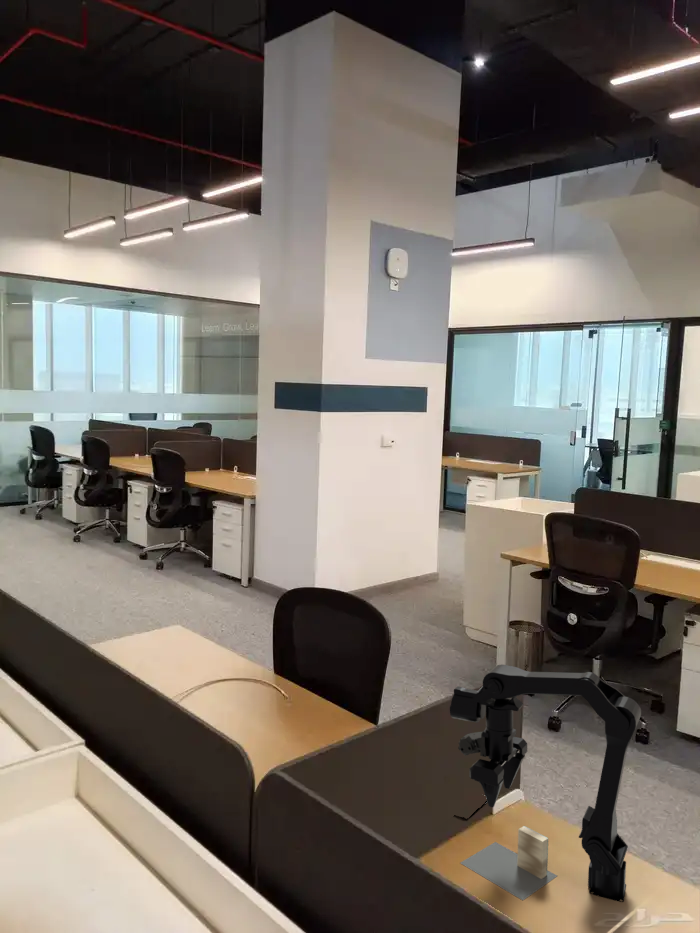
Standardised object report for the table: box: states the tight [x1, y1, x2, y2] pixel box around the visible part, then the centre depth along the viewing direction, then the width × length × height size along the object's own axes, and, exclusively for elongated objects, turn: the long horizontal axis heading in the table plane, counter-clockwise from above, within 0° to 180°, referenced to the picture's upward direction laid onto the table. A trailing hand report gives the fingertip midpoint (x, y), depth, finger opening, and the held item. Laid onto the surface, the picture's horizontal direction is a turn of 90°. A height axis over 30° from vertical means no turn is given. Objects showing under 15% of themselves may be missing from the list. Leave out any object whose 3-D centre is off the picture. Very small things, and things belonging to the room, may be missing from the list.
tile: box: [517, 825, 549, 879], centre depth 157 cm, size 6×2×8 cm, turn 41°
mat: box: [460, 841, 558, 901], centre depth 157 cm, size 16×12×1 cm
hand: (499, 797), depth 161 cm, fingers open, 9 cm apart
